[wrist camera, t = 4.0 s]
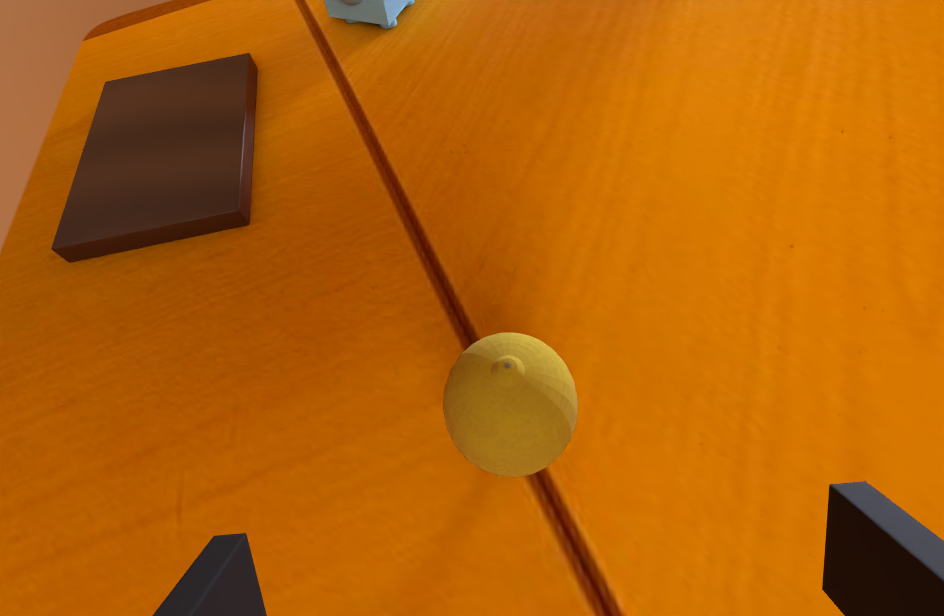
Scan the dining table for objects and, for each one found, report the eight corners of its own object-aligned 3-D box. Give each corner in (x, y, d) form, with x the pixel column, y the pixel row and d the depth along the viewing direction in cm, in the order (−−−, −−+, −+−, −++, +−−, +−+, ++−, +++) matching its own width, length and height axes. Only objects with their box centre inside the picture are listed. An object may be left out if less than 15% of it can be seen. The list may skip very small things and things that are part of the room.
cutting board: (249, 225, 33) (238, 209, 31) (69, 263, 32) (50, 249, 31) (257, 69, 42) (249, 52, 41) (117, 97, 42) (104, 81, 41)
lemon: (591, 422, 24) (618, 349, 17) (525, 519, 22) (527, 481, 15) (499, 361, 26) (491, 275, 19) (432, 445, 24) (396, 382, 17)
